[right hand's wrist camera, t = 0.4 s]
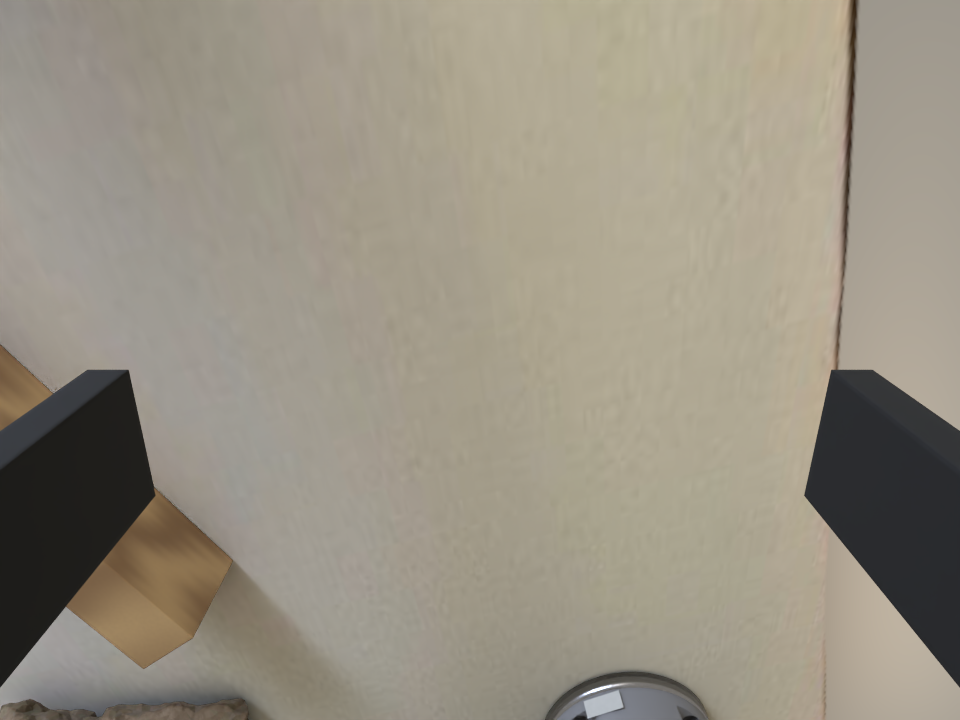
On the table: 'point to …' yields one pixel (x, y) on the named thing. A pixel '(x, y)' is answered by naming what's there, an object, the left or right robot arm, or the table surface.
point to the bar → (136, 560)
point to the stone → (131, 712)
